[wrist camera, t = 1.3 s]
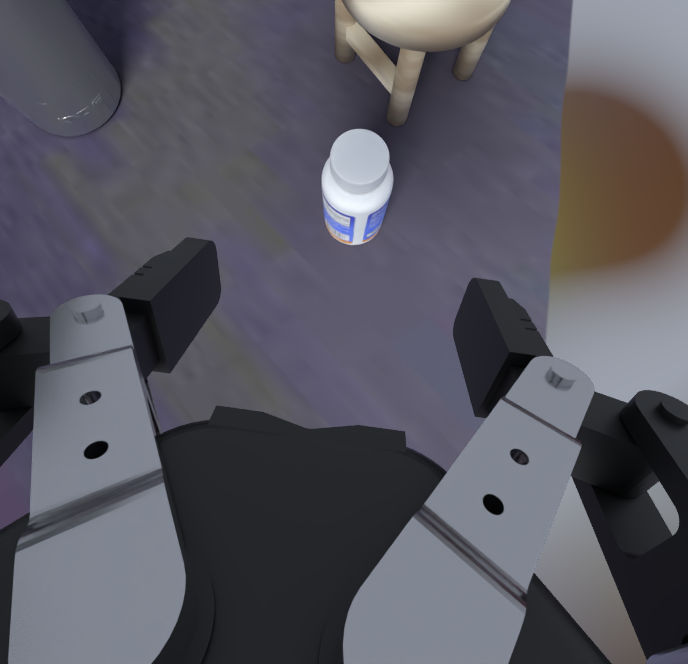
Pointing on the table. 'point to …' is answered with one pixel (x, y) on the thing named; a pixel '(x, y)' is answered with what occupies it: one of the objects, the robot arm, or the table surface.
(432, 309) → the table surface
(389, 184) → the pill bottle
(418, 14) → the small wooden stool
